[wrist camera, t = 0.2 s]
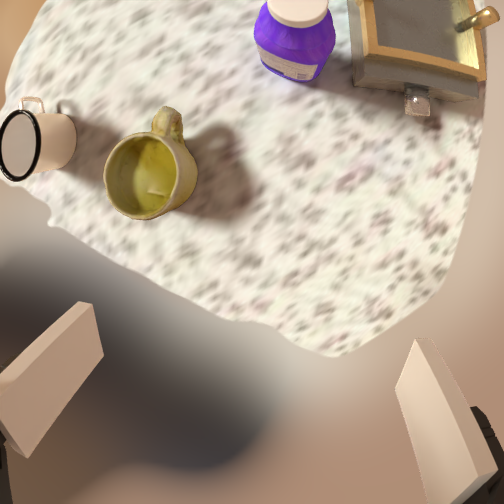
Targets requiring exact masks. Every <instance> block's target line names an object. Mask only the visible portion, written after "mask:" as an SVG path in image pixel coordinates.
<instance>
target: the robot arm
mask: <svg viewBox="0 0 504 504" xmlns="http://www.w3.org/2000/svg"><path fill="white" fill-rule="evenodd" d="M103 356H104V354H103V350H102V346H101V342H100V337H99V333H98V329H97V324H96V320H95V314H94V309H93V305H92V304H89V303H84V302H78V303H77V304H75V305H74V306H73V307H72V308H71V309H69V310H68V311H67V312H66V313H65V314H64V315H63V316H62V317H60V319H58V320H57V321H56V322H55V323H54V324H53V325H51V326H50V327H49V328H48V329H47V330H46V331H45V332H44V333H43V334H42V335H40V336H39V337H38V338H37V339H36V340H35V341H34V342H33V343H32V344H31V345H30V346H29V347H27V349H25V350H24V351H23V352H22V353H21V352H20V353H18V354H16V355H14V356H12V357H10V358H9V359H8V360H7V361H6V362H5V363H4V364H3V365H2V367H0V504H13V502H12V496H11V490H10V483H9V475H8V466H7V455H6V449H5V446H4V445H3V444H4V442H5V441H6V440H7V441H8V443H9V444H10V446H11V447H12V448H13V450H15V451H16V452H18V453H20V454H21V455H23V456H24V457H26V458H28V457H29V456H30V455H31V453H32V452H33V450H34V449H35V447H36V446H37V445H38V443H39V442H40V440H41V439H42V437H43V436H44V435H45V433H46V432H47V430H48V429H49V428H50V426H51V425H52V423H53V422H54V421H55V419H56V418H57V417H58V415H59V414H60V412H61V411H62V410H63V408H64V407H65V405H66V404H67V403H68V402H69V400H70V399H71V398H72V396H73V395H74V394H75V392H76V391H77V390H78V388H79V387H80V386H81V384H82V383H83V382H84V380H85V379H86V378H87V376H88V375H89V374H90V373H91V371H92V370H93V369H94V367H95V366H96V365H97V364H98V362H99V361H100V360H101V359H102V357H103ZM395 392H396V394H397V398H398V400H399V404H400V407H401V410H402V413H403V416H404V419H405V422H406V426H407V429H408V432H409V436H410V439H411V442H412V446H413V449H414V453H415V456H416V460H417V464H418V467H419V471H420V475H421V479H422V483H423V487H424V490H425V495H426V499H427V503H428V504H504V451H503V449H502V447H501V445H500V443H499V441H498V439H497V437H495V433H494V431H493V429H492V428H491V425H490V423H489V421H488V419H487V417H486V415H485V414H484V413H483V412H482V411H481V410H480V409H479V408H478V407H477V406H475V407H469V405H468V403H467V401H466V400H465V398H464V396H463V394H462V392H461V390H460V389H459V387H458V385H457V383H456V381H455V379H454V377H453V376H452V374H451V372H450V370H449V368H448V367H447V365H446V363H445V362H444V360H443V358H442V356H441V354H440V353H439V351H438V349H437V348H436V346H435V344H434V343H433V341H432V340H431V338H415V339H414V342H413V345H412V348H411V350H410V353H409V356H408V358H407V361H406V363H405V366H404V368H403V371H402V373H401V376H400V378H399V380H398V383H397V385H396V387H395Z"/></svg>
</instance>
